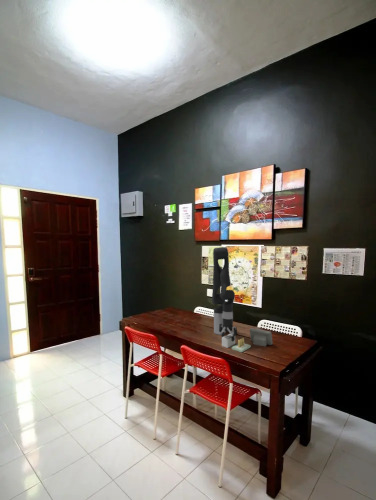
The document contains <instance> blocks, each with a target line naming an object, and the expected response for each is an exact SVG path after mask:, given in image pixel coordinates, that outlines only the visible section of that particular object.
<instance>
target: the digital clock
mask: <svg viewBox="0 0 376 500" xmlns="http://www.w3.org/2000/svg"><path fill="white" fill-rule="evenodd" d="M249 335H250V340H251V342H252V343H253V345H255V346H261V347H267V345H268V346H271V345H273V334H272V331H270V330H269V331H268V330H263V329H259V328H258V329H257V328H249Z"/></svg>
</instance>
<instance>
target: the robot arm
mask: <svg viewBox="0 0 376 500" xmlns="http://www.w3.org/2000/svg"><path fill="white" fill-rule="evenodd" d="M212 256H213V257H212V258H213V269H212V270H213V271H212V272H213V273H212V293H211V302H212V304H213V305H219V306H217V307H214V308H213V333H214V334H215V335H221V338H222V337H224V336H225V334H226V332H227V333H229V334H231V335H232V341H234V340H235V341H236V336H237V335H238V329H237V326H234V325H233V324H234V312H233V311H234V310H233V308H234V307H233V306H234V301H235V297H236V294H235V291H234V290H233V289H227V288H228V287H230V286H231V284H232V283H231V277H230V260H229V249H228V248H227V247H226V246H221V247H220V246H219V247H214V248H213V250H212ZM219 260H224V262H223V267H221V265H220V264H219ZM219 289H220V291H219ZM218 291H219V292H218Z"/></svg>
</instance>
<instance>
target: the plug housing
mask: <svg viewBox="0 0 376 500" xmlns="http://www.w3.org/2000/svg"><path fill="white" fill-rule="evenodd" d="M235 345H236V339H235V340H234V341H232V335H231V334H230V333H229V334H227V335H224V337H222V336H221V347H223V348H224V347H225V348H226V349H227V348H231V347H233V346H235Z"/></svg>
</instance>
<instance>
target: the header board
mask: <svg viewBox="0 0 376 500" xmlns="http://www.w3.org/2000/svg"><path fill="white" fill-rule="evenodd" d="M251 346H252V345H251V344H248V343H245V337H241V338H240V339H238V340H237V344H234V345H232V346H231V350H232V351H235V352H239V353H243V352H245V351H246V350H248V349H250V348H251Z"/></svg>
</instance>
